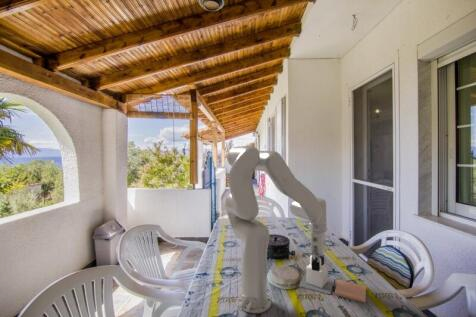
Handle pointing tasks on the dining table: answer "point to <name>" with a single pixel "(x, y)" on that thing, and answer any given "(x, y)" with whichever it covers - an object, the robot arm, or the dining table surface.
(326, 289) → the tile
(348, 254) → the dining table surface
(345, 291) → the terracotta pad
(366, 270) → the dining table surface
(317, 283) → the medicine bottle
